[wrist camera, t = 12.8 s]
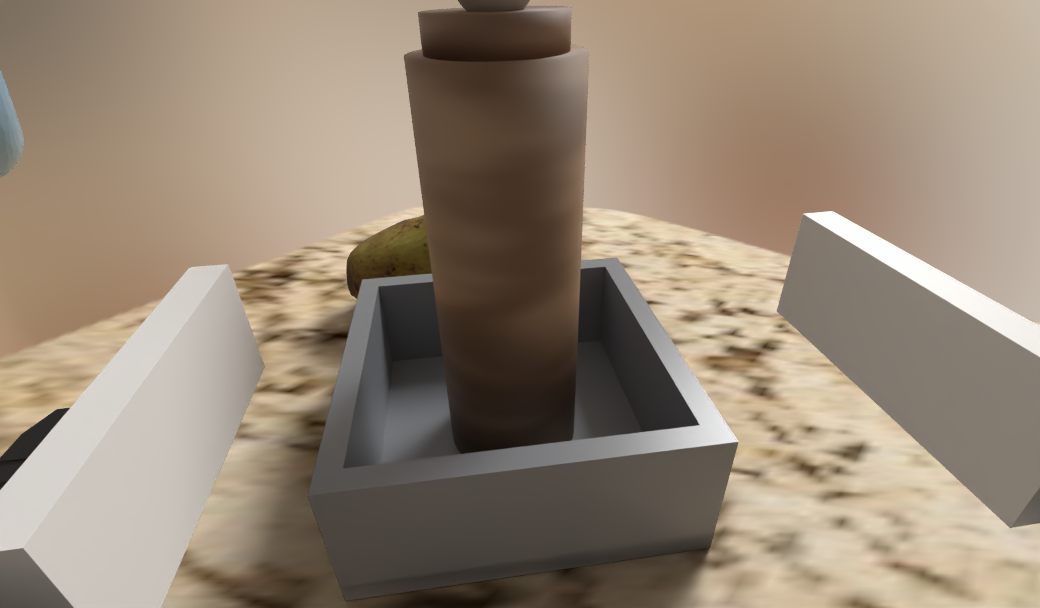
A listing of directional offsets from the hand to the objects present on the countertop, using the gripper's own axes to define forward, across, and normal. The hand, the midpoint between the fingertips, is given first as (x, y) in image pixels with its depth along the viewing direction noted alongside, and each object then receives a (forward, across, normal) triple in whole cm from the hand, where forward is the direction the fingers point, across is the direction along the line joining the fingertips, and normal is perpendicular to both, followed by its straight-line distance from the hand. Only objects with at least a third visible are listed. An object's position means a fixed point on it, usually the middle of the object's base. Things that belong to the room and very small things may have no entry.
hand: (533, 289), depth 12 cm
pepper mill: (+5, 0, -9) cm, 11 cm away
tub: (+5, 0, -10) cm, 11 cm away
